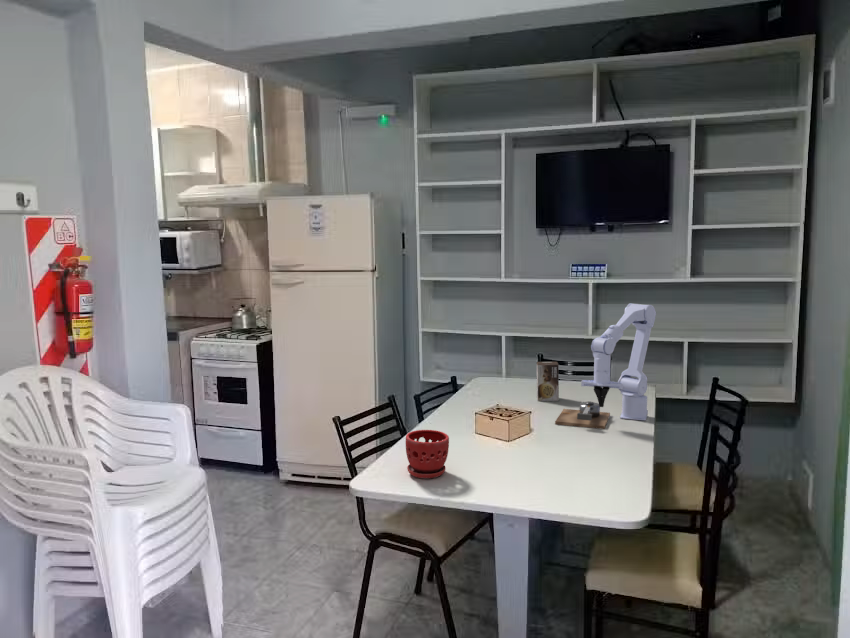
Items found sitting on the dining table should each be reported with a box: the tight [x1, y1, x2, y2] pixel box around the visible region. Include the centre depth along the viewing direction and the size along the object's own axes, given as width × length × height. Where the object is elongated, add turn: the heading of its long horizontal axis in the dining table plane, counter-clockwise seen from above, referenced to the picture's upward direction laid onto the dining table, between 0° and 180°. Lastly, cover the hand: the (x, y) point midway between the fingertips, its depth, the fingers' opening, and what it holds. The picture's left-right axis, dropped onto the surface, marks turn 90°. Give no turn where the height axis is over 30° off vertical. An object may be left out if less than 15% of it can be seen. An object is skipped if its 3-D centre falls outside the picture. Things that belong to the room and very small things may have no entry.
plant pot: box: [405, 429, 450, 479], centre depth 188 cm, size 13×13×12 cm
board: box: [554, 408, 611, 430], centre depth 239 cm, size 18×18×1 cm
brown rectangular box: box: [536, 361, 560, 402], centre depth 269 cm, size 9×6×16 cm
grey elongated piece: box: [577, 401, 601, 420], centre depth 236 cm, size 18×8×5 cm, turn 158°
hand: (601, 406), depth 229 cm, fingers closed
